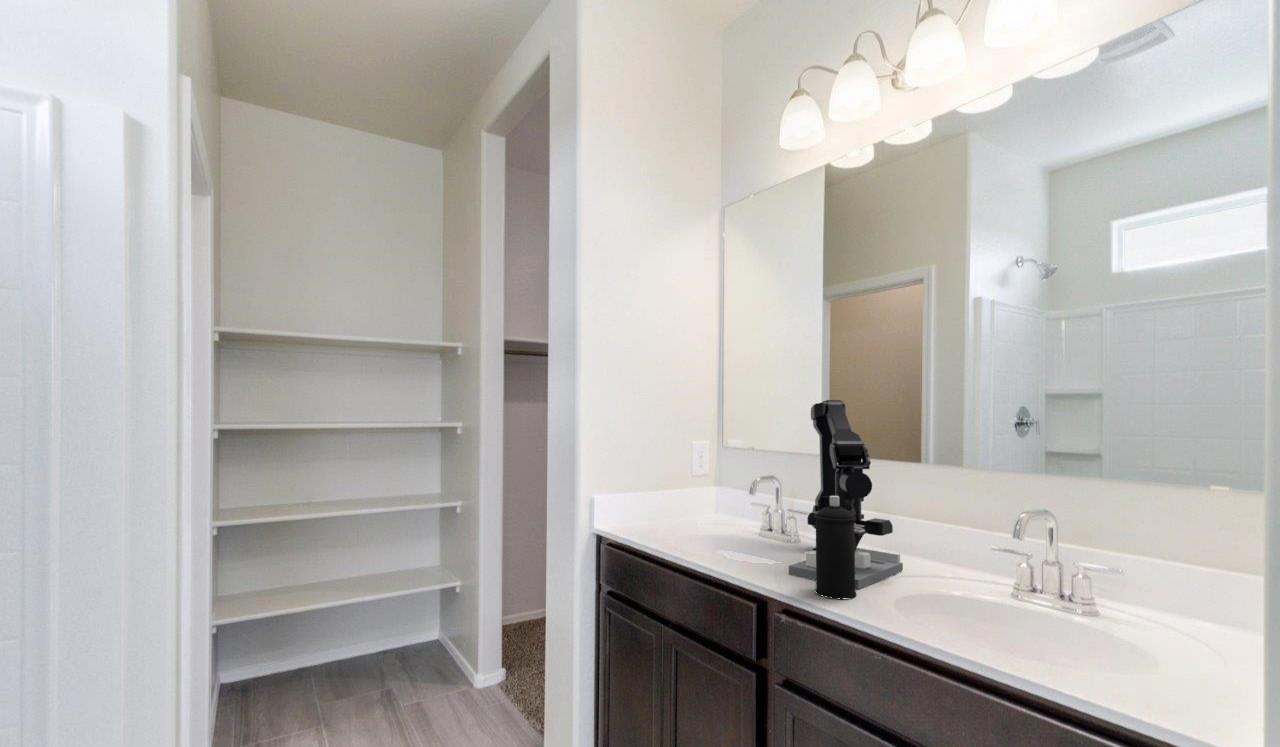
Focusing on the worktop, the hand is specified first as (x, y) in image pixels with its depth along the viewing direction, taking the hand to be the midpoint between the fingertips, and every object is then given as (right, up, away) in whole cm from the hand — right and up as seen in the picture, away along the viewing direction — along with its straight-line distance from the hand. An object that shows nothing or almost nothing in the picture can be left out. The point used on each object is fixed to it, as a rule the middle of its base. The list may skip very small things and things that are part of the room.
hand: (848, 560), depth 147 cm
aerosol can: (-8, -2, -16) cm, 18 cm away
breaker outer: (-8, -1, -2) cm, 8 cm away
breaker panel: (0, -3, 0) cm, 3 cm away
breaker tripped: (+2, -1, -2) cm, 3 cm away
